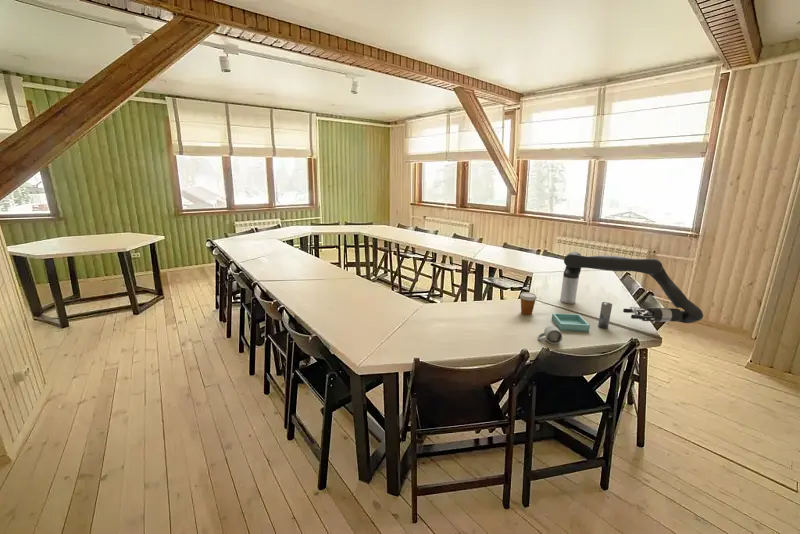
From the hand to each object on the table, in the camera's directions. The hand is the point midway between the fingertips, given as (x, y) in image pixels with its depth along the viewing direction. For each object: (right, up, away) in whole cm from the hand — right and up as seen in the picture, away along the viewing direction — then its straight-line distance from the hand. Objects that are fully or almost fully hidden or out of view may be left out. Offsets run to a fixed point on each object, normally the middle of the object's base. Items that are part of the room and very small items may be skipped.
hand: (627, 313), depth 195 cm
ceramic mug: (-48, -13, -12) cm, 51 cm away
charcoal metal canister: (-11, -8, +4) cm, 14 cm away
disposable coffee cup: (-47, -3, +22) cm, 53 cm away
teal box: (-29, -8, +6) cm, 31 cm away
